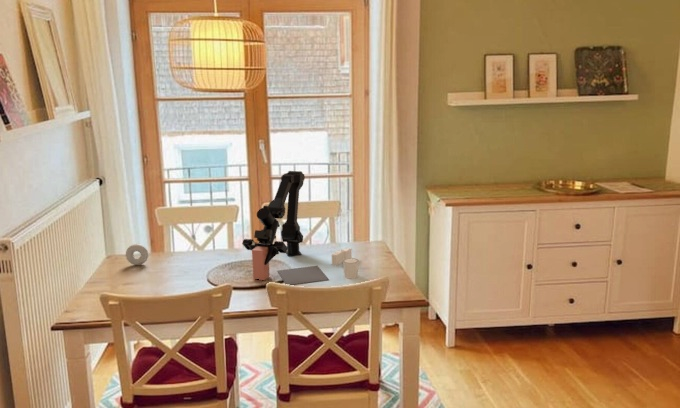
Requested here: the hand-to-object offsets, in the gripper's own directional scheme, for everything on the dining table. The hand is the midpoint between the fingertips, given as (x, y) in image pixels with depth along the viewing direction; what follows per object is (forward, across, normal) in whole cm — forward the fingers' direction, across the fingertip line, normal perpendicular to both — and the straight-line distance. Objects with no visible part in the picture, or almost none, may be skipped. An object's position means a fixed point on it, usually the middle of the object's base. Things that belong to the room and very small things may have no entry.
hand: (259, 263), depth 243 cm
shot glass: (-5, +36, +15) cm, 39 cm away
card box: (+4, 0, +6) cm, 7 cm away
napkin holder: (-16, +26, +27) cm, 41 cm away
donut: (+4, -62, +6) cm, 63 cm away
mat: (-2, +15, +11) cm, 19 cm away
